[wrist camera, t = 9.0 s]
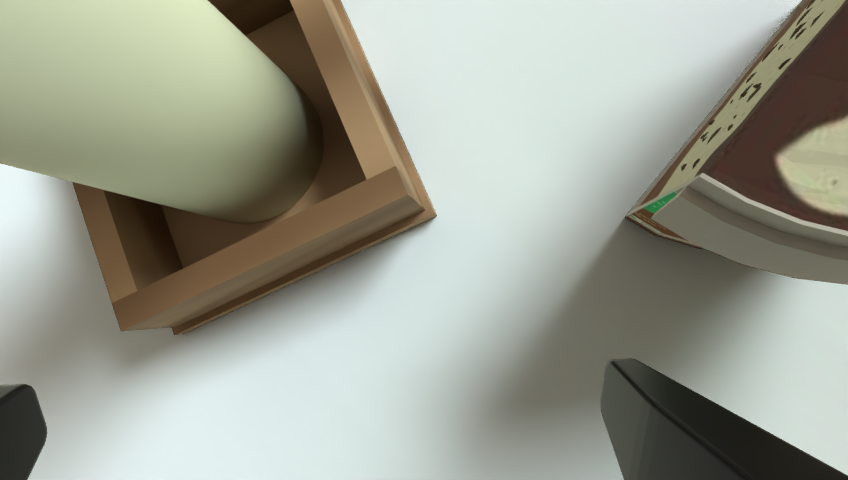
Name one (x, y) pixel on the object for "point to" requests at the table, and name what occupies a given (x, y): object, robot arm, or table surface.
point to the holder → (290, 231)
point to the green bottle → (154, 106)
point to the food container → (769, 158)
